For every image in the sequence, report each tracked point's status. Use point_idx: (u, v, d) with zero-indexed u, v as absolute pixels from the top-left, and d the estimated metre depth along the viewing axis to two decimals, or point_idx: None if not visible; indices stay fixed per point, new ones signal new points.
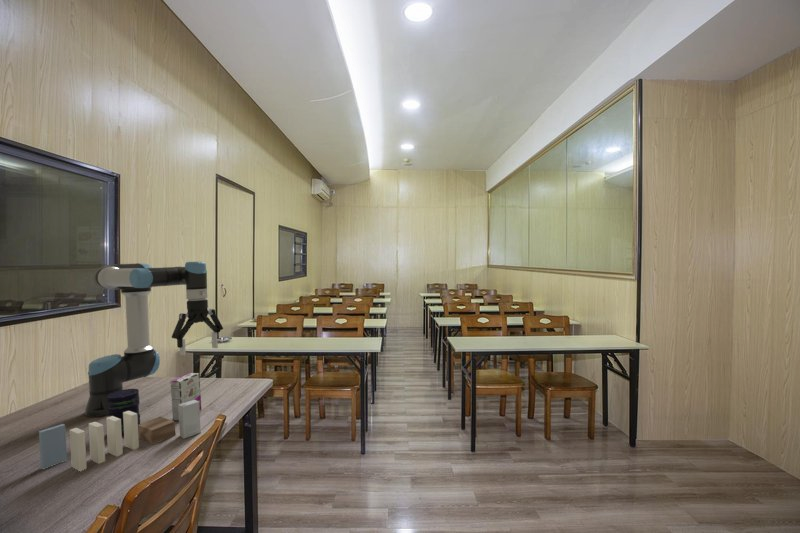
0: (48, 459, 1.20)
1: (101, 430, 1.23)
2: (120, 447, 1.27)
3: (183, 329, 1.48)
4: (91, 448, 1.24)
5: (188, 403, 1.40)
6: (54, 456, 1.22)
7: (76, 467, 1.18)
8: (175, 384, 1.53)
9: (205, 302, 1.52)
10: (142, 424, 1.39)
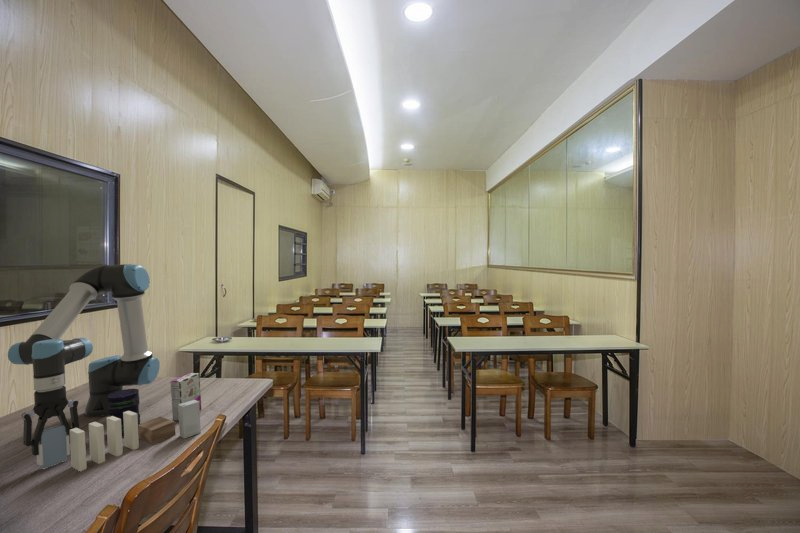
0: (48, 459, 1.20)
1: (101, 430, 1.23)
2: (120, 447, 1.27)
3: (36, 431, 1.19)
4: (91, 448, 1.24)
5: (188, 403, 1.40)
6: (54, 456, 1.22)
7: (76, 467, 1.18)
8: (175, 384, 1.53)
9: (59, 392, 1.21)
10: (142, 424, 1.39)
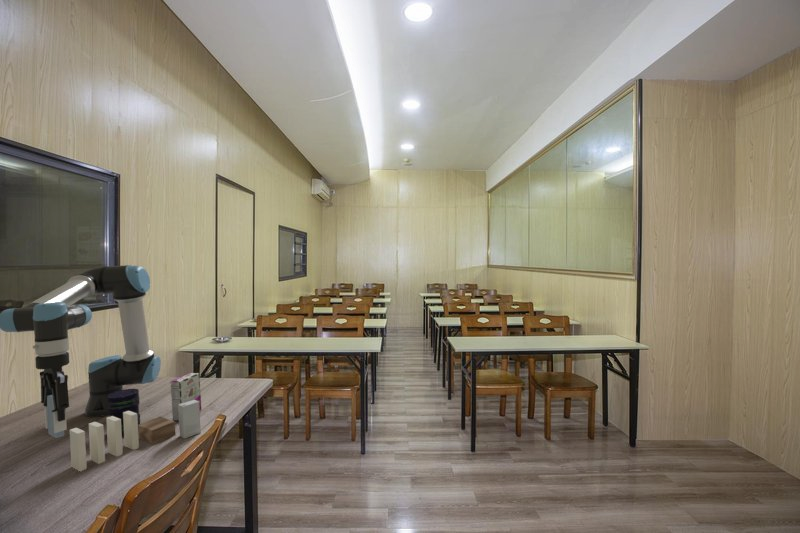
0: (50, 426, 1.15)
1: (101, 430, 1.23)
2: (120, 447, 1.27)
3: None
4: (91, 448, 1.24)
5: (188, 403, 1.40)
6: (51, 426, 1.14)
7: (76, 467, 1.18)
8: (175, 384, 1.53)
9: (38, 360, 1.11)
10: (142, 424, 1.39)
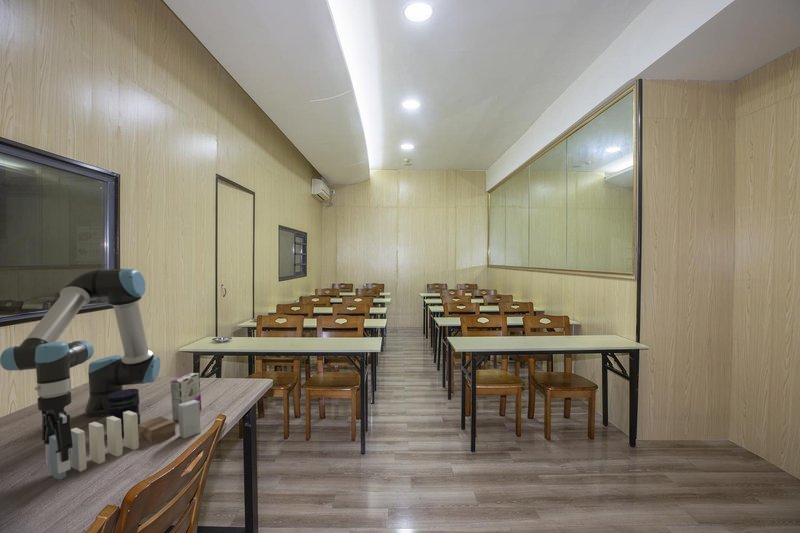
0: (52, 467, 1.15)
1: (101, 430, 1.22)
2: (120, 447, 1.27)
3: None
4: (91, 448, 1.24)
5: (188, 403, 1.40)
6: (54, 467, 1.15)
7: (76, 467, 1.18)
8: (175, 384, 1.53)
9: (41, 402, 1.11)
10: (142, 424, 1.39)
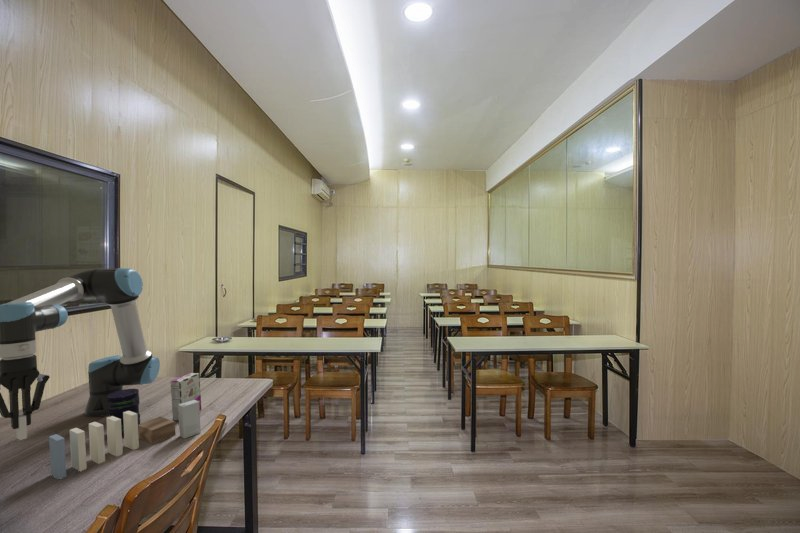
0: (52, 467, 1.15)
1: (101, 430, 1.22)
2: (120, 447, 1.27)
3: (11, 404, 1.07)
4: (91, 448, 1.24)
5: (188, 403, 1.40)
6: (54, 467, 1.15)
7: (76, 467, 1.18)
8: (175, 384, 1.53)
9: (28, 361, 1.07)
10: (142, 424, 1.39)
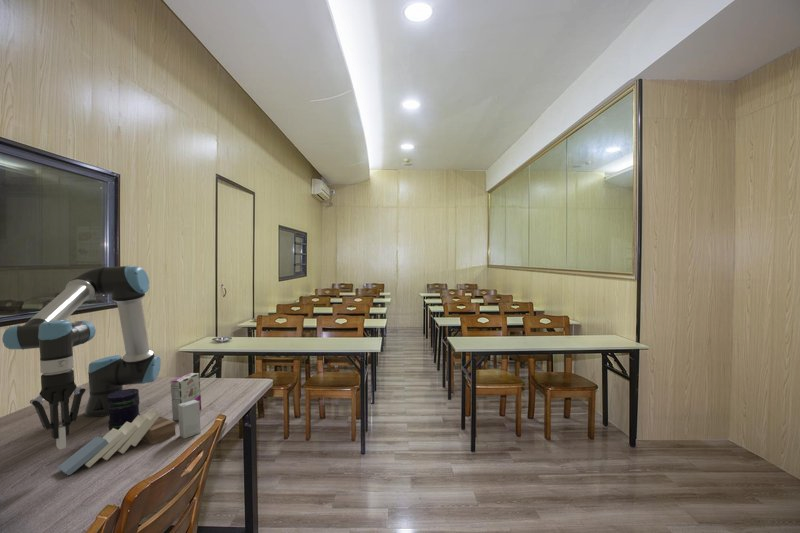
0: (68, 461, 1.19)
1: (133, 430, 1.31)
2: (128, 445, 1.29)
3: (51, 416, 1.14)
4: None
5: (188, 403, 1.40)
6: (71, 460, 1.18)
7: None
8: (175, 384, 1.53)
9: (67, 375, 1.15)
10: None
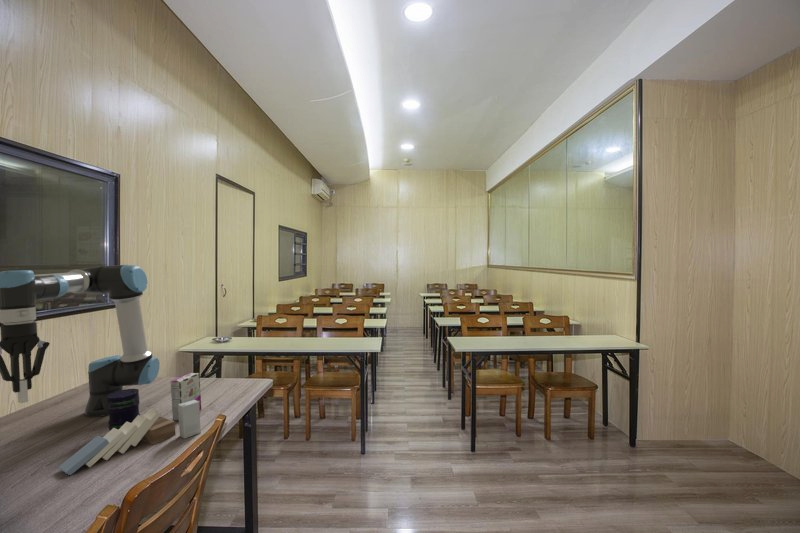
0: (69, 460, 1.19)
1: (133, 430, 1.31)
2: (128, 445, 1.29)
3: (12, 368, 1.10)
4: None
5: (188, 403, 1.40)
6: (72, 460, 1.18)
7: None
8: (175, 384, 1.53)
9: (29, 326, 1.10)
10: None
